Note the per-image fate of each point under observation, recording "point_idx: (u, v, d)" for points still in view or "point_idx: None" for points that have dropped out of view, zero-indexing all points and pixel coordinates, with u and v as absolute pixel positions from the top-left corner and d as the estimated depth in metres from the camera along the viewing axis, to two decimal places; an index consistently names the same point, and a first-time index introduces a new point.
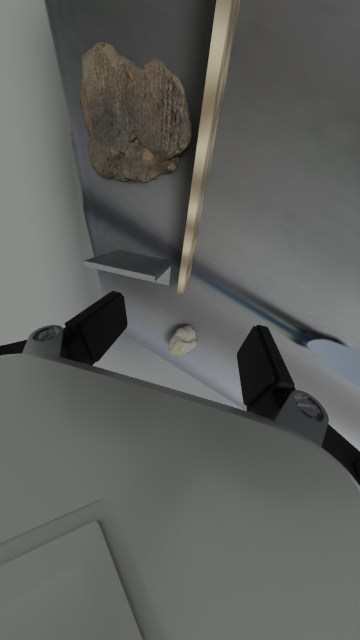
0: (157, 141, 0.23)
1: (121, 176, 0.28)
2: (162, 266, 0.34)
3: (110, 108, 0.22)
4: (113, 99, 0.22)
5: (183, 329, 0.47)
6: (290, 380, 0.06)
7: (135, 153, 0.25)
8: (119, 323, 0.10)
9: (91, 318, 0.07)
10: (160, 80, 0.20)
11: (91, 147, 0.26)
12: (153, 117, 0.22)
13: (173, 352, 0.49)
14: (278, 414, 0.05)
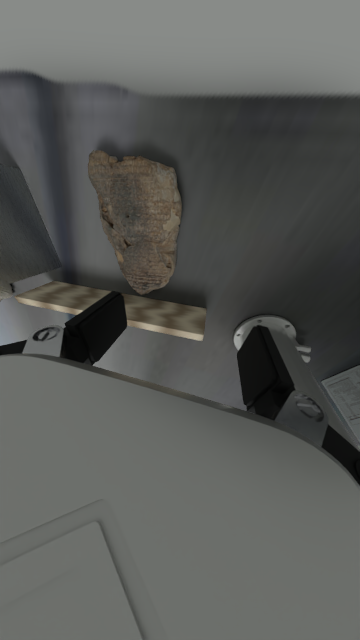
0: (128, 270, 0.25)
1: None
2: (35, 271, 0.28)
3: (136, 217, 0.20)
4: (143, 222, 0.20)
5: None
6: (290, 380, 0.06)
7: (116, 243, 0.23)
8: (119, 323, 0.10)
9: (91, 318, 0.07)
10: (159, 274, 0.25)
11: (105, 161, 0.18)
12: (139, 267, 0.24)
13: None
14: (278, 414, 0.05)
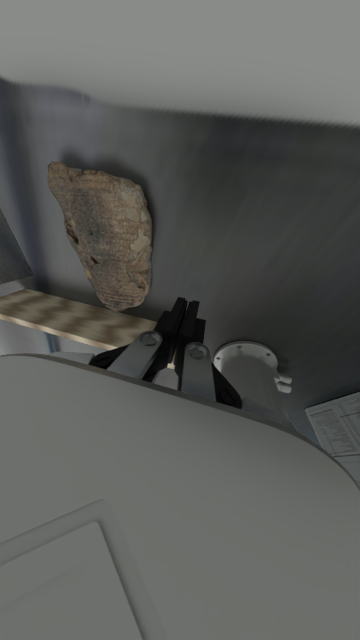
0: (98, 288, 0.23)
1: (65, 223, 0.20)
2: None
3: (100, 235, 0.18)
4: (108, 241, 0.18)
5: None
6: (190, 334, 0.07)
7: (83, 259, 0.21)
8: None
9: (177, 324, 0.08)
10: (131, 294, 0.23)
11: (64, 174, 0.16)
12: (109, 286, 0.22)
13: None
14: (183, 374, 0.05)
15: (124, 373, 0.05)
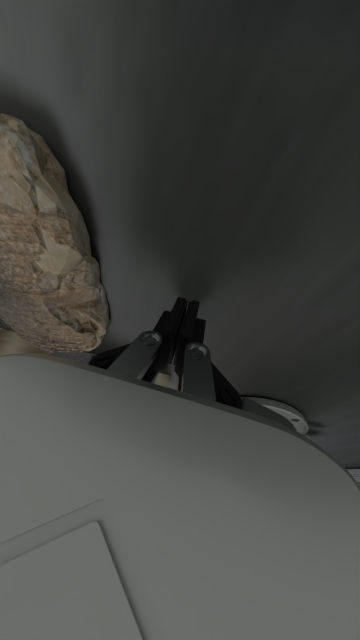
0: (15, 330, 0.14)
1: None
2: None
3: None
4: None
5: None
6: (190, 334, 0.07)
7: None
8: None
9: (177, 324, 0.08)
10: (70, 341, 0.13)
11: None
12: (30, 329, 0.13)
13: None
14: (183, 374, 0.05)
15: (124, 373, 0.05)
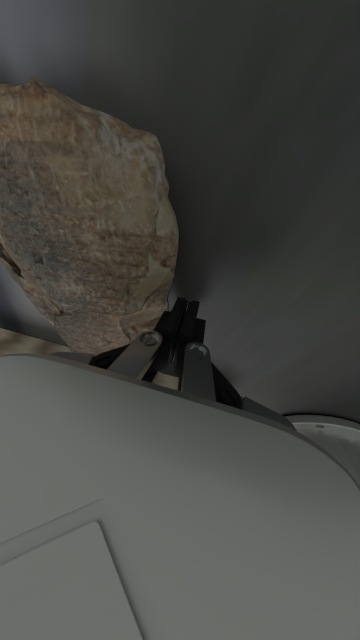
0: (72, 346, 0.13)
1: None
2: None
3: (60, 265, 0.08)
4: (80, 277, 0.08)
5: None
6: (190, 334, 0.07)
7: (37, 303, 0.11)
8: None
9: (177, 324, 0.08)
10: None
11: None
12: (91, 347, 0.12)
13: None
14: (183, 374, 0.05)
15: (124, 373, 0.05)
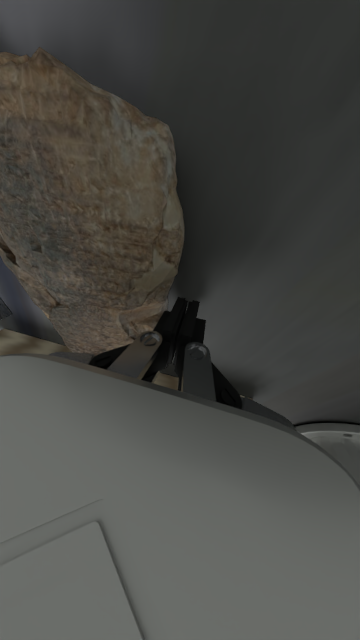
0: (67, 340, 0.13)
1: None
2: None
3: (60, 254, 0.07)
4: (80, 268, 0.08)
5: None
6: (190, 334, 0.07)
7: (31, 293, 0.10)
8: None
9: (177, 324, 0.08)
10: None
11: None
12: (87, 341, 0.12)
13: None
14: (183, 374, 0.05)
15: (124, 373, 0.05)
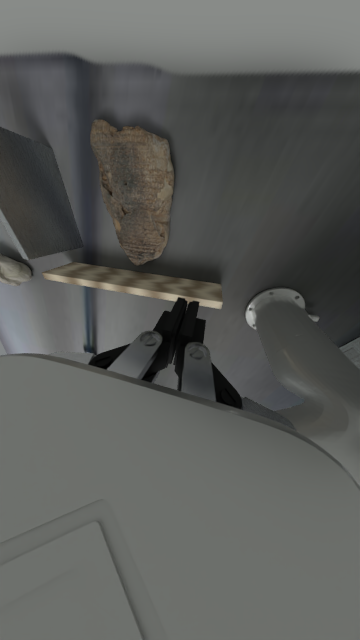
0: (125, 238, 0.28)
1: (99, 178, 0.24)
2: (62, 248, 0.30)
3: (133, 184, 0.22)
4: (139, 190, 0.23)
5: (17, 269, 0.38)
6: (190, 334, 0.07)
7: (114, 211, 0.25)
8: None
9: (177, 324, 0.08)
10: (153, 243, 0.28)
11: (106, 130, 0.20)
12: (135, 235, 0.27)
13: None
14: (183, 374, 0.05)
15: (124, 373, 0.05)
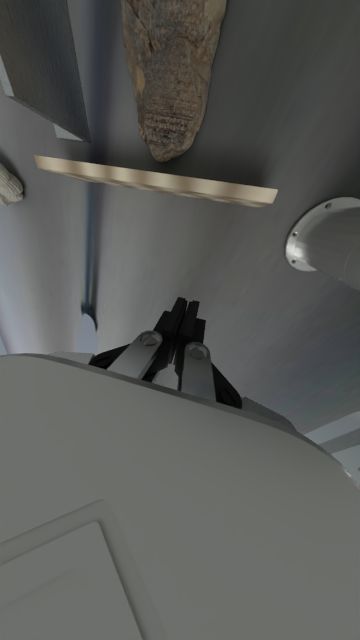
0: (149, 103, 0.21)
1: None
2: (63, 120, 0.22)
3: None
4: None
5: (5, 175, 0.31)
6: (190, 334, 0.07)
7: (139, 48, 0.18)
8: None
9: (177, 324, 0.08)
10: (186, 112, 0.21)
11: None
12: (164, 95, 0.20)
13: None
14: (183, 374, 0.05)
15: (124, 373, 0.05)
